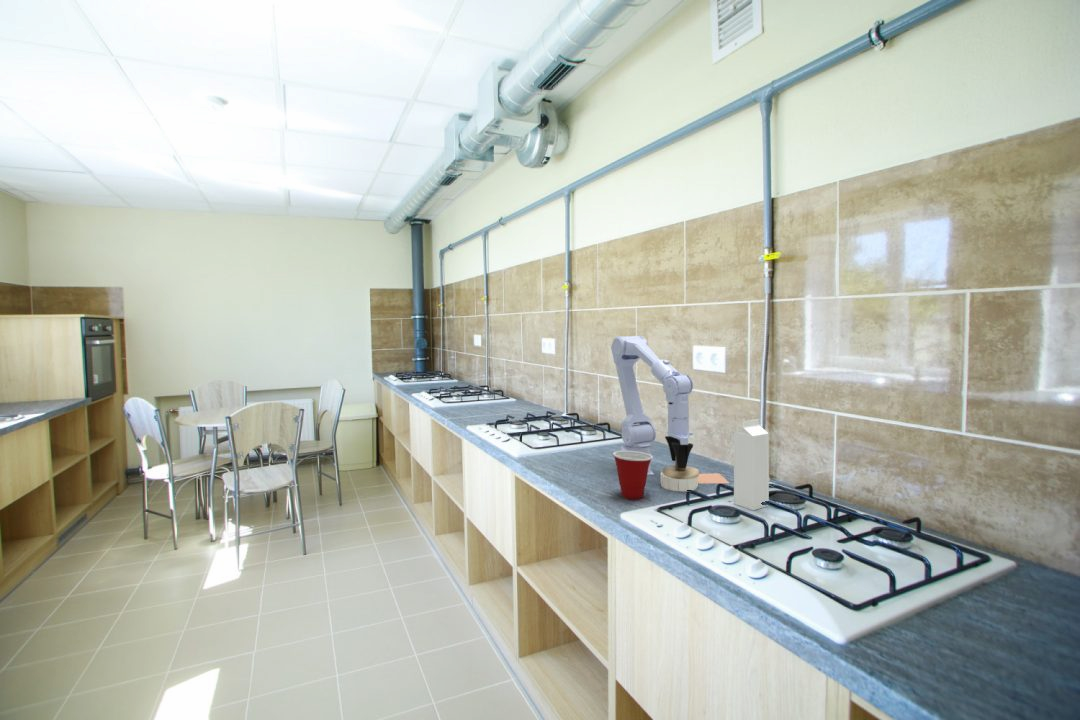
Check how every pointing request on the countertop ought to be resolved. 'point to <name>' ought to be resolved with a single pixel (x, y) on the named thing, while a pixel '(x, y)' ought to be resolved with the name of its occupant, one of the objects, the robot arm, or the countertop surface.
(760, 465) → the milk
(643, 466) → the plastic cup
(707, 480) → the mat
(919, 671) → the countertop surface
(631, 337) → the robot arm
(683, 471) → the lid
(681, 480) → the bowl
